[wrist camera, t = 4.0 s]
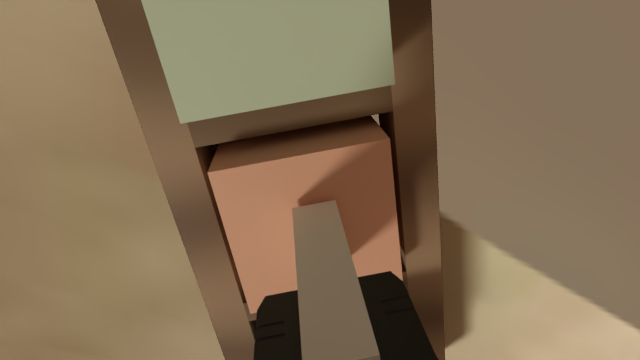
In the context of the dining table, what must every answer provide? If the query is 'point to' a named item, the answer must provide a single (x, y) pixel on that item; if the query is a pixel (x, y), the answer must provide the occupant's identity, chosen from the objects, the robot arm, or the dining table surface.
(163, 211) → the dining table surface
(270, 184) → the cap terracotta
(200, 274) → the button board
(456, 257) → the dining table surface
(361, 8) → the cap sage
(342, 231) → the robot arm
